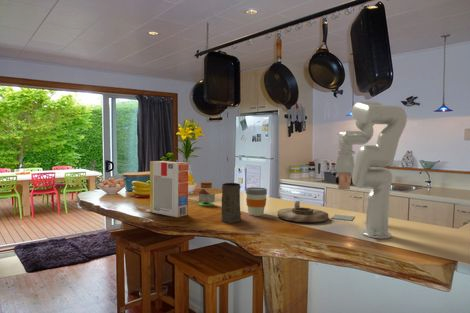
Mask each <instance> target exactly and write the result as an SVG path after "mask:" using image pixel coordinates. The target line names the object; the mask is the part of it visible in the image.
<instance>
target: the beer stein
mask: <svg viewBox="0 0 470 313" xmlns="http://www.w3.org/2000/svg"><path fill="white" fill-rule="evenodd" d="M241 187H242V186H241V184H240V183H238V182H237V183H236V182H225V183H222V184H221V191H222V192H221V217H220V218H221V219H220V221H222V222H223V223H226V224H228V223H229V224H232V223H239V222H240V221H242V215H241V214H242V213H241Z"/></svg>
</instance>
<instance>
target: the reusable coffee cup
mask: <svg viewBox="0 0 470 313" xmlns="http://www.w3.org/2000/svg"><path fill="white" fill-rule="evenodd" d="M267 191H268V189H267V188H265V187H258V186H257V187H253V186H252V187H246V188H245V194H246V198H245V202H246V206H247V214H248V215H250V216H254V217H255V216H256V217H258V216H263V215H264V213H265V207H266V204H267V194H268V192H267Z"/></svg>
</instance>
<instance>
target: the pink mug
mask: <svg viewBox="0 0 470 313" xmlns="http://www.w3.org/2000/svg"><path fill="white" fill-rule="evenodd" d="M338 178H339V179H338V186H337V188H338V190H350V189H351V185H350V183H351V176H350V173H339V175H338Z"/></svg>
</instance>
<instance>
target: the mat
mask: <svg viewBox="0 0 470 313" xmlns="http://www.w3.org/2000/svg"><path fill="white" fill-rule="evenodd" d="M330 218H331V219H333V220H339V221H350V222H352V221H353V220H354V219H355V216H352V215H344V214H334V215H333V216H331V217H330Z"/></svg>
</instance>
